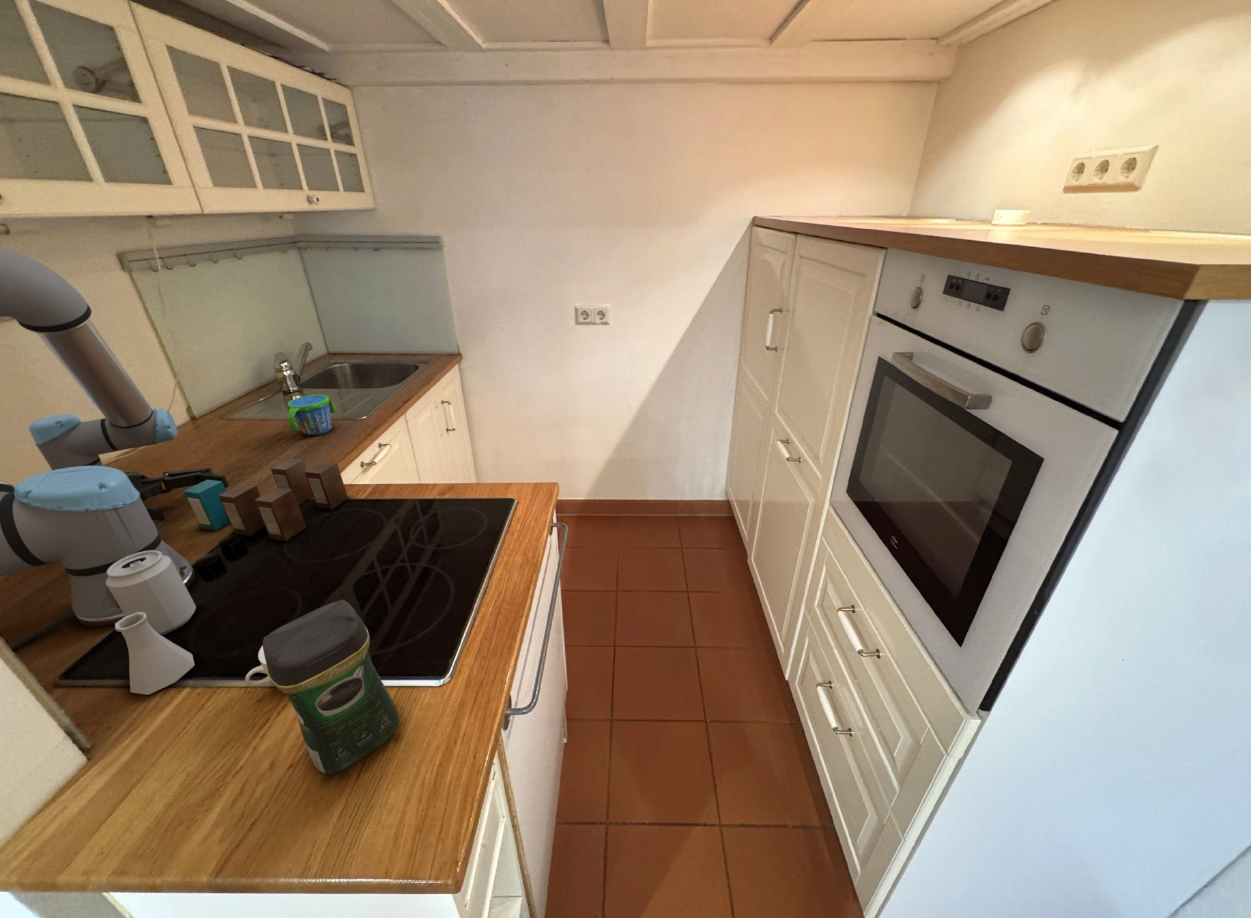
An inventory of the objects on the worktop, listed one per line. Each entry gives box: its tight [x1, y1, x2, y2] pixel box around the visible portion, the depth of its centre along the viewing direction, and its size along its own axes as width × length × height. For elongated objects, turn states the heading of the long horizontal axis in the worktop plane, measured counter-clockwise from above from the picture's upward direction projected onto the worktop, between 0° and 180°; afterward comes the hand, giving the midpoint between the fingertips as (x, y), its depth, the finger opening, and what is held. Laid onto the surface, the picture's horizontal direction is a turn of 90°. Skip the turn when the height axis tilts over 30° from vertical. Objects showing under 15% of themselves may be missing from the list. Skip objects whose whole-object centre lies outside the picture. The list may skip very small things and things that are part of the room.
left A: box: [218, 483, 266, 536], centre depth 102 cm, size 5×4×9 cm
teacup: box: [244, 645, 272, 687], centre depth 68 cm, size 10×8×5 cm
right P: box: [304, 461, 349, 510], centre depth 110 cm, size 5×4×9 cm
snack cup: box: [287, 394, 336, 437], centre depth 149 cm, size 16×10×10 cm
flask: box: [114, 612, 195, 696], centre depth 68 cm, size 7×7×10 cm
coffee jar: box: [262, 599, 400, 775], centre depth 57 cm, size 10×8×19 cm
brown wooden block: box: [254, 487, 307, 542], centre depth 100 cm, size 5×4×9 cm
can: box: [106, 550, 197, 636], centre depth 77 cm, size 8×8×12 cm
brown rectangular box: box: [270, 458, 313, 506], centre depth 112 cm, size 5×4×9 cm
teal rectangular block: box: [183, 480, 231, 531], centre depth 104 cm, size 5×4×9 cm
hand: (194, 497), depth 104 cm, fingers open, 13 cm apart
